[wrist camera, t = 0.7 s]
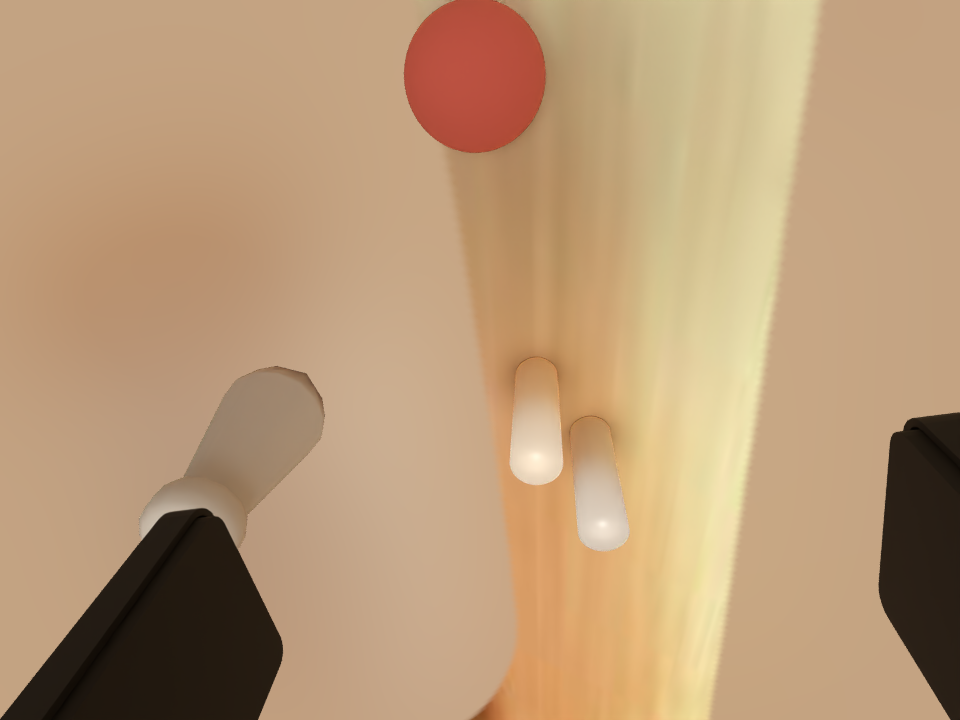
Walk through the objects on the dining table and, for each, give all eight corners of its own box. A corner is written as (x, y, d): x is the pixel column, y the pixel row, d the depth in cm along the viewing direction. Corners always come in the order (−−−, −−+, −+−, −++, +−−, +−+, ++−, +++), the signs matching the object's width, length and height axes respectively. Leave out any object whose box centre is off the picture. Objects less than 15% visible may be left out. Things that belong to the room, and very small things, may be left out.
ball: (403, 20, 29) (372, 12, 24) (533, -12, 28) (532, -27, 23) (433, 154, 31) (412, 175, 26) (553, 129, 30) (557, 146, 25)
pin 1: (512, 360, 36) (505, 444, 28) (554, 354, 36) (558, 437, 28) (519, 397, 37) (514, 487, 29) (560, 391, 37) (566, 481, 29)
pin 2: (566, 419, 37) (574, 514, 30) (607, 413, 37) (626, 509, 29) (572, 452, 38) (581, 553, 31) (612, 447, 38) (632, 548, 30)
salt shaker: (302, 453, 40) (205, 618, 28) (224, 400, 39) (89, 550, 27) (353, 393, 38) (271, 544, 26) (272, 334, 36) (147, 467, 25)
